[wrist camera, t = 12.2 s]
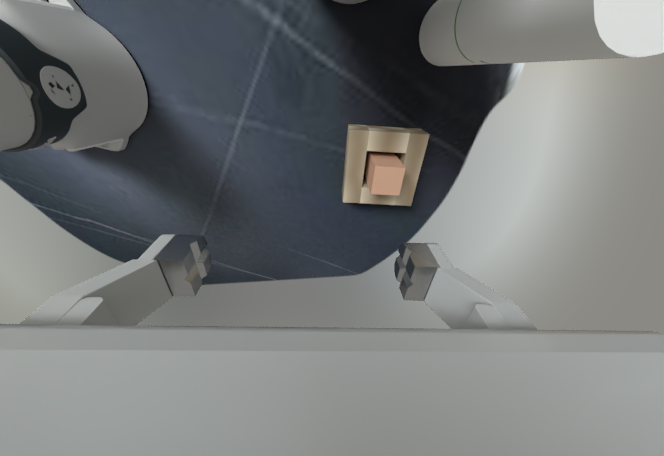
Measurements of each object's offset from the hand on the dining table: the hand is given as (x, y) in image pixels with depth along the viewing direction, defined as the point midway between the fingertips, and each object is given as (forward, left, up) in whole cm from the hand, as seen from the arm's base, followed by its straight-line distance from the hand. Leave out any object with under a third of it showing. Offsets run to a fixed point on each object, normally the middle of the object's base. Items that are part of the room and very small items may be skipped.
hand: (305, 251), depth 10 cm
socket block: (+9, -6, -31) cm, 33 cm away
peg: (+9, -6, -31) cm, 33 cm away
